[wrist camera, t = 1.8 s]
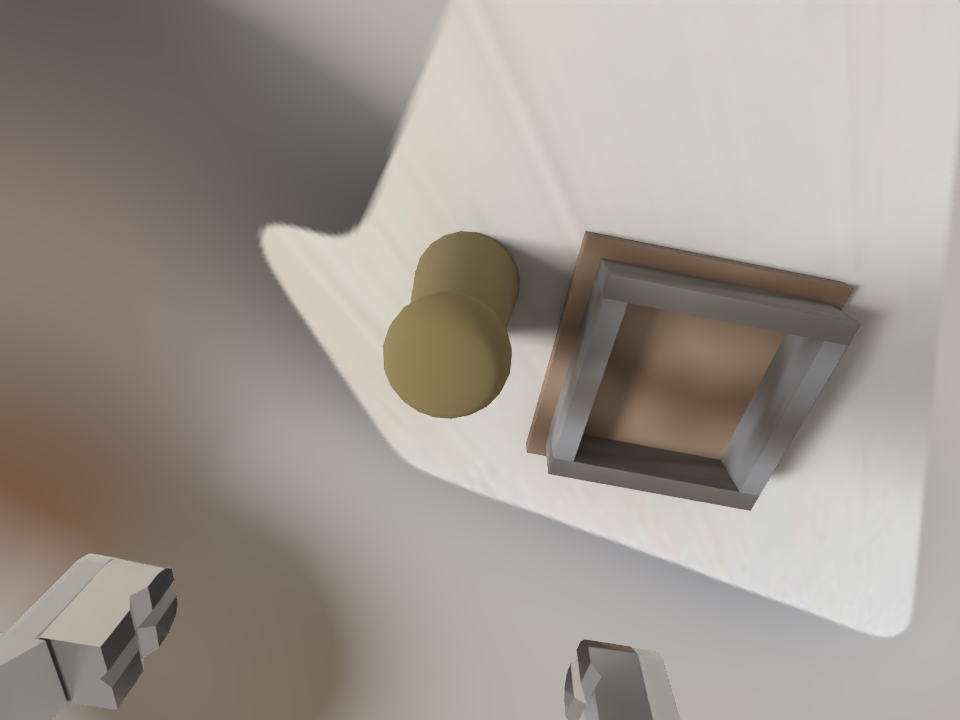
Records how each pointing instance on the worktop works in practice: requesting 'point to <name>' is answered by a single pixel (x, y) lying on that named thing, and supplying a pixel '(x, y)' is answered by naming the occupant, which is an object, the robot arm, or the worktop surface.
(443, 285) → the cork
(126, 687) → the robot arm
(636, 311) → the grey-rimmed square tray
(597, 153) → the worktop surface
